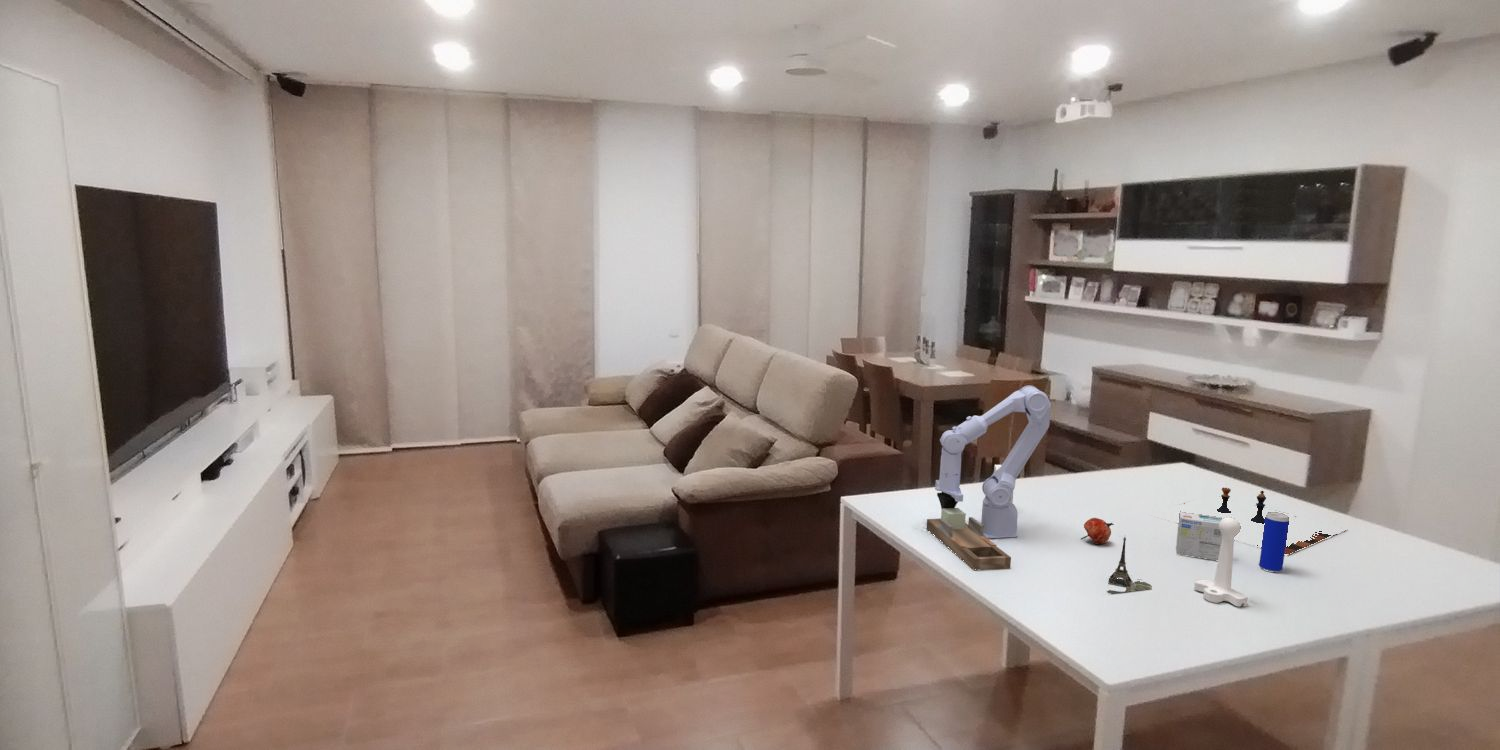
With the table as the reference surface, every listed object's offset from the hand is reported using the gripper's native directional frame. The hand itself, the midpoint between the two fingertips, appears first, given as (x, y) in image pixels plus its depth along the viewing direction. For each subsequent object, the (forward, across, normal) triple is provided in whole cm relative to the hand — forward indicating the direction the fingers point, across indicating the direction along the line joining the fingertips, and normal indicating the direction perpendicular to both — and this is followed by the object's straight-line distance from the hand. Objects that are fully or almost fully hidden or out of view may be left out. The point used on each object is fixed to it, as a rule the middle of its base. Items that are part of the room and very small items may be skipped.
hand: (947, 518), depth 234 cm
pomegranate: (+4, +13, +39) cm, 42 cm away
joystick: (+4, +51, +46) cm, 69 cm away
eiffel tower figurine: (+5, +40, +28) cm, 49 cm away
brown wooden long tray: (+4, +13, 0) cm, 13 cm away
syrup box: (+4, -15, +25) cm, 29 cm away
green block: (+1, +4, 0) cm, 4 cm away
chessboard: (+5, +3, +97) cm, 97 cm away
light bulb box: (+4, +25, +62) cm, 67 cm away
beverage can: (+4, +37, +74) cm, 83 cm away
